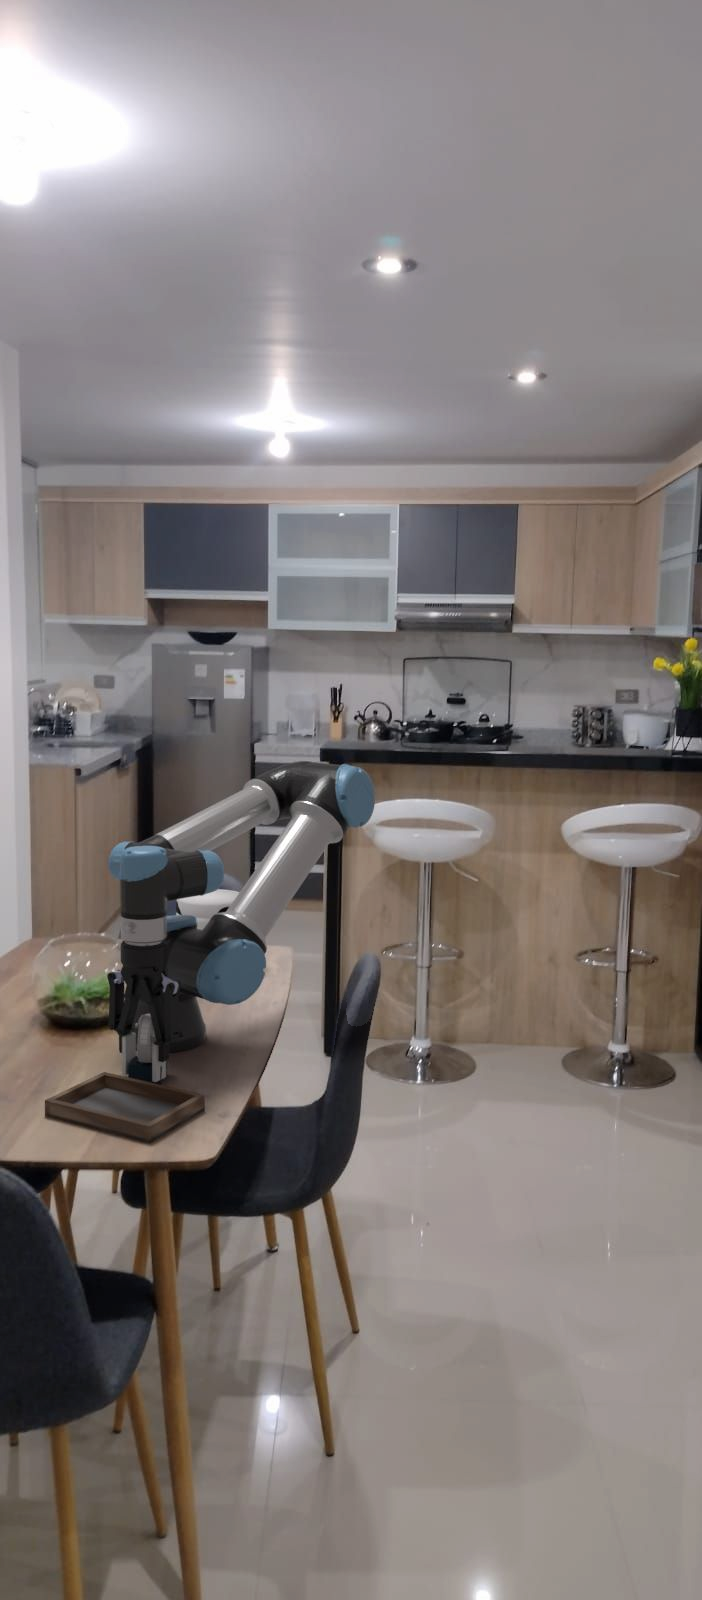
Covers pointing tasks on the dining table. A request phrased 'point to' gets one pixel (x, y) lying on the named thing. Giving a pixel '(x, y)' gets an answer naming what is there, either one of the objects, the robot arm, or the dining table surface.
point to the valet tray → (125, 1106)
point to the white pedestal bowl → (206, 905)
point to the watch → (144, 1052)
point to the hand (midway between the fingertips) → (143, 1075)
